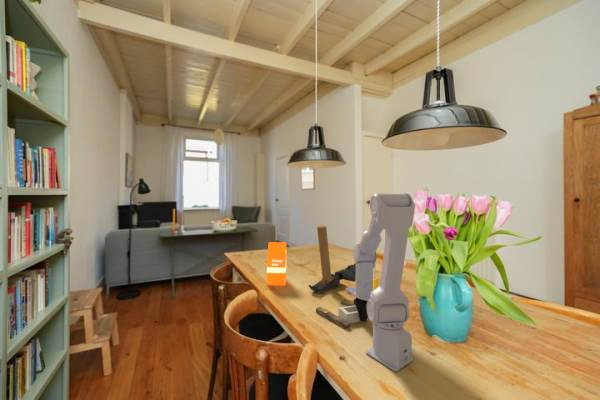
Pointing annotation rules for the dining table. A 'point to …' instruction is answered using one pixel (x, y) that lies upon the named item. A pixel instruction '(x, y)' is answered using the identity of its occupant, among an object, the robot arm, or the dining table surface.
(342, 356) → the dining table surface
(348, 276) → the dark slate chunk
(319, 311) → the guide rails
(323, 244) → the hammer
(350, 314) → the block
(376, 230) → the robot arm
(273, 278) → the orange juice
